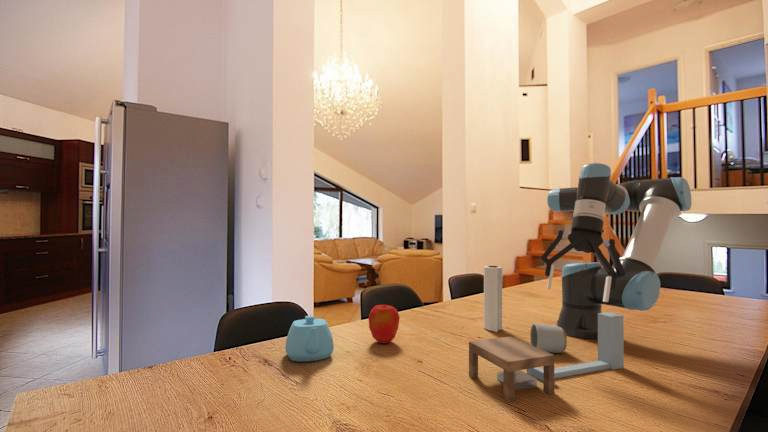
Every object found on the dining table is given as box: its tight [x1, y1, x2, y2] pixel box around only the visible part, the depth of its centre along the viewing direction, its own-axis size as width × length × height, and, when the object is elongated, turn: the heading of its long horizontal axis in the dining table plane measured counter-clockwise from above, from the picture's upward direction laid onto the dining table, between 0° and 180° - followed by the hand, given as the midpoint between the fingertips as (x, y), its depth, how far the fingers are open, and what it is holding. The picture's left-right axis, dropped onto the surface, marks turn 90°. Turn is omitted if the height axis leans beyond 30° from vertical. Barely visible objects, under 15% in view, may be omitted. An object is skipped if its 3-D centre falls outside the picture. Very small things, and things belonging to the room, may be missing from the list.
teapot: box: [285, 314, 334, 362], centre depth 101 cm, size 13×11×18 cm
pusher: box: [526, 311, 625, 385], centre depth 92 cm, size 26×7×13 cm, turn 111°
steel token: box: [496, 370, 538, 391], centre depth 85 cm, size 6×6×2 cm
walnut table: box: [468, 336, 555, 403], centre depth 85 cm, size 12×14×8 cm
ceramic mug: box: [529, 323, 568, 354], centre depth 108 cm, size 11×8×8 cm
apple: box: [367, 304, 401, 344], centre depth 114 cm, size 9×9×12 cm
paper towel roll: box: [483, 265, 503, 333], centre depth 129 cm, size 7×6×21 cm
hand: (576, 295), depth 99 cm, fingers open, 13 cm apart
